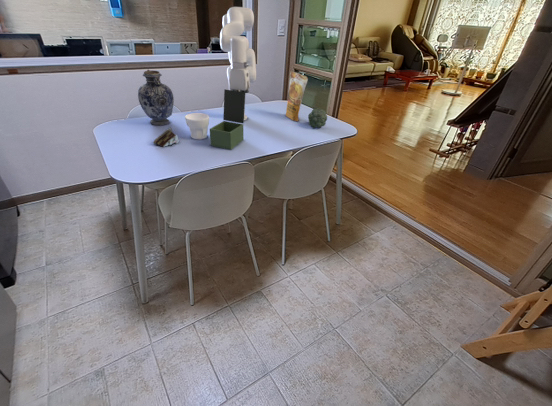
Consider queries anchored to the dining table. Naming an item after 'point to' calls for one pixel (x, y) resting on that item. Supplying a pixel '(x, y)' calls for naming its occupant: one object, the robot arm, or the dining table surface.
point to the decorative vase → (156, 98)
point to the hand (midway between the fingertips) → (239, 103)
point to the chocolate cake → (166, 138)
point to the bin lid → (234, 106)
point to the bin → (226, 135)
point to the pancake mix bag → (295, 94)
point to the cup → (197, 124)
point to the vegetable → (317, 118)
